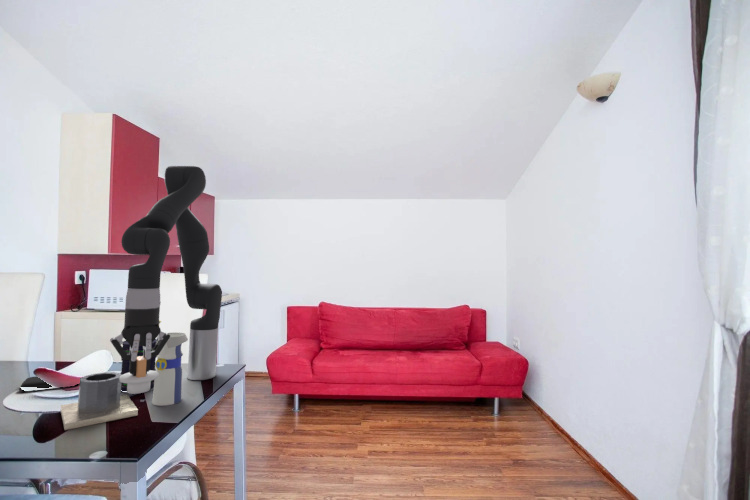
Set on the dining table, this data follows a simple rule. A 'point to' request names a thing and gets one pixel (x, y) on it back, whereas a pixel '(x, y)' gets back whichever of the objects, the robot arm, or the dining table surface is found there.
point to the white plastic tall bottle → (169, 371)
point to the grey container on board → (98, 402)
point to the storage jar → (140, 353)
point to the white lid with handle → (139, 378)
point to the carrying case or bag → (34, 383)
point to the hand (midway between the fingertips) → (139, 374)
